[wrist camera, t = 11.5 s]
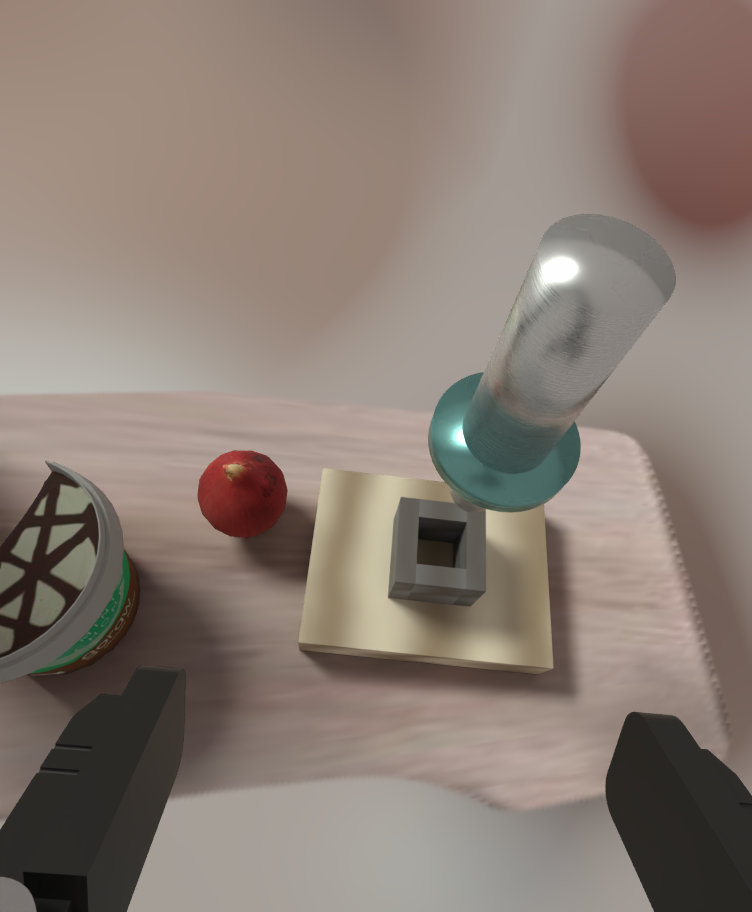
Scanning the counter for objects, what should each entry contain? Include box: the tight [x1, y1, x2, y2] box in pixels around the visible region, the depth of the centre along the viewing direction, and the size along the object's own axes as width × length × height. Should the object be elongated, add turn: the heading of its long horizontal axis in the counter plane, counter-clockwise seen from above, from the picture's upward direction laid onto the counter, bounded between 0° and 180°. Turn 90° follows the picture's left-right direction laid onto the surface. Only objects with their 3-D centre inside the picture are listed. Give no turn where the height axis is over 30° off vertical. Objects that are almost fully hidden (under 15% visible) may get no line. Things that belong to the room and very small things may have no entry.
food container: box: [0, 461, 140, 683], centre depth 33 cm, size 12×6×10 cm, turn 163°
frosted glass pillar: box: [428, 214, 676, 513], centre depth 21 cm, size 6×6×15 cm
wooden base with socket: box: [298, 468, 553, 674], centre depth 38 cm, size 16×12×7 cm
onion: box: [198, 450, 288, 538], centre depth 38 cm, size 6×6×8 cm
